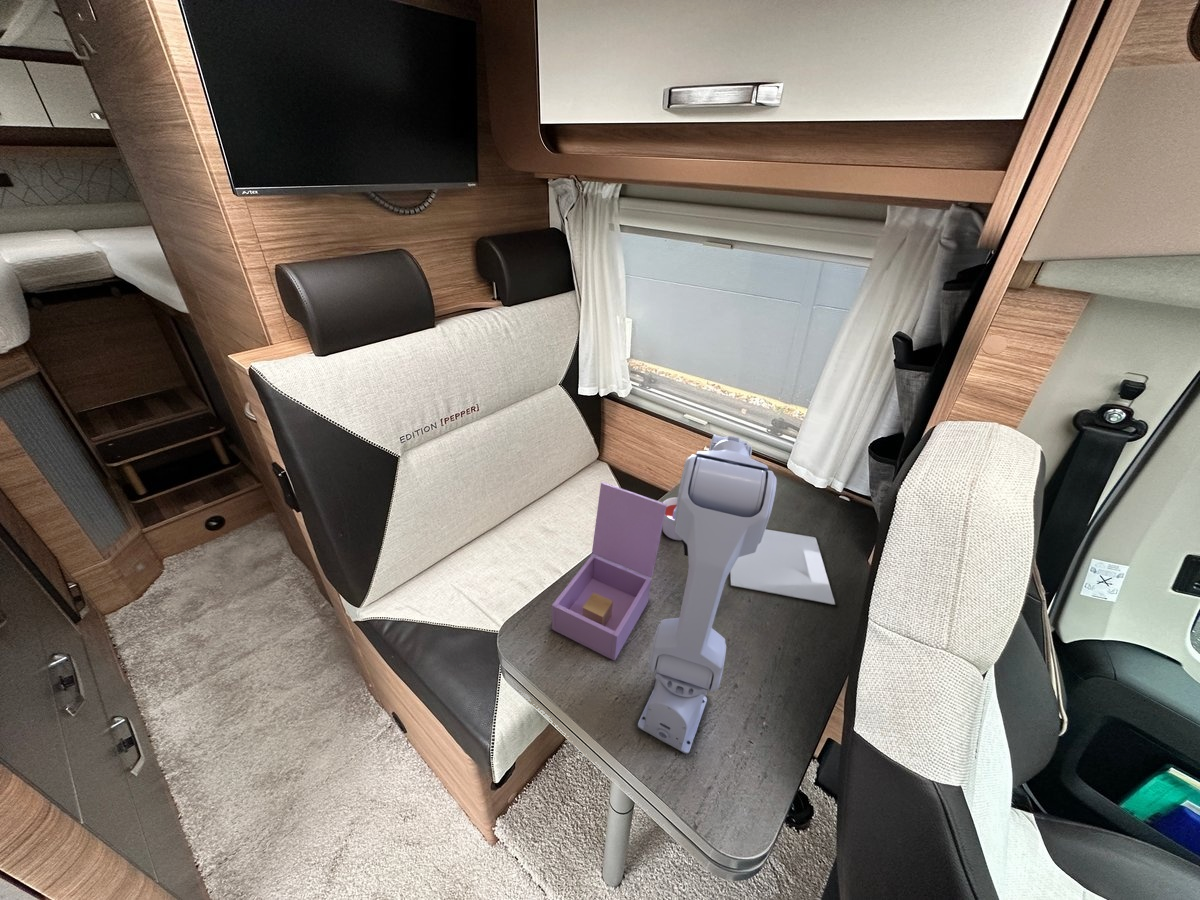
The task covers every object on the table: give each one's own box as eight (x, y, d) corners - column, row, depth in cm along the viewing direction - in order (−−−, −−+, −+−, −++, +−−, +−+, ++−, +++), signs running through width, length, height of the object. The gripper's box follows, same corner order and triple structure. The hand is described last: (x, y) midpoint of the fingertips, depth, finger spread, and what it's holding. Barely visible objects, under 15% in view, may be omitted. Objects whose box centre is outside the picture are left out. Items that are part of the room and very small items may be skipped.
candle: (689, 549, 103) (693, 527, 100) (651, 535, 106) (654, 513, 103) (701, 526, 110) (706, 505, 107) (666, 514, 113) (669, 492, 110)
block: (601, 632, 82) (602, 616, 80) (581, 622, 84) (582, 607, 82) (611, 616, 85) (613, 601, 83) (592, 607, 87) (593, 592, 85)
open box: (614, 661, 79) (617, 636, 75) (551, 629, 83) (551, 605, 80) (648, 601, 90) (651, 578, 87) (591, 576, 95) (592, 553, 91)
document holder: (730, 585, 94) (834, 604, 91) (731, 584, 94) (835, 604, 91) (727, 523, 111) (815, 538, 108) (727, 522, 111) (815, 537, 108)
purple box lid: (665, 505, 80) (667, 504, 80) (600, 483, 85) (602, 481, 85) (651, 577, 86) (652, 575, 87) (591, 553, 91) (593, 551, 91)
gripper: (766, 502, 81) (749, 560, 88) (686, 477, 86) (676, 533, 93) (757, 525, 75) (740, 585, 82) (672, 496, 81) (663, 555, 88)
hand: (705, 559), depth 87 cm, fingers open, 6 cm apart
